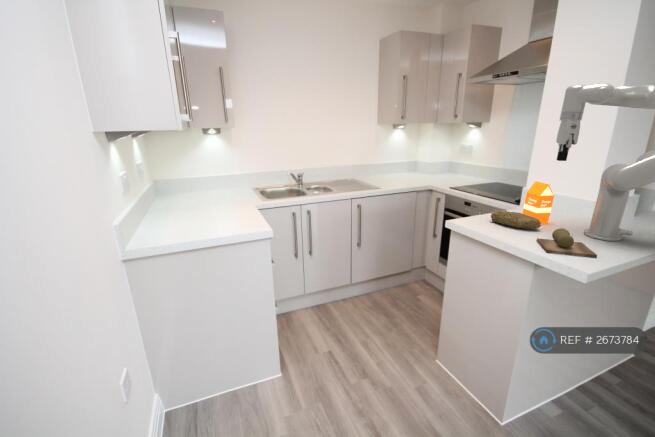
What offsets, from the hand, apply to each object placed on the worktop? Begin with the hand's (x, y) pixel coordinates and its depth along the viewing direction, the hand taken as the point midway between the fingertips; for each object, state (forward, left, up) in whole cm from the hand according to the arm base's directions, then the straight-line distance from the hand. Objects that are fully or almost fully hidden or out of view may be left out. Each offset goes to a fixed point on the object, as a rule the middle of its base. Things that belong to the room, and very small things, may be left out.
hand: (561, 160), depth 136 cm
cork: (0, +18, -29) cm, 34 cm away
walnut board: (+1, +26, -32) cm, 41 cm away
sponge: (+13, -1, -32) cm, 35 cm away
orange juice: (+2, -11, -32) cm, 34 cm away
